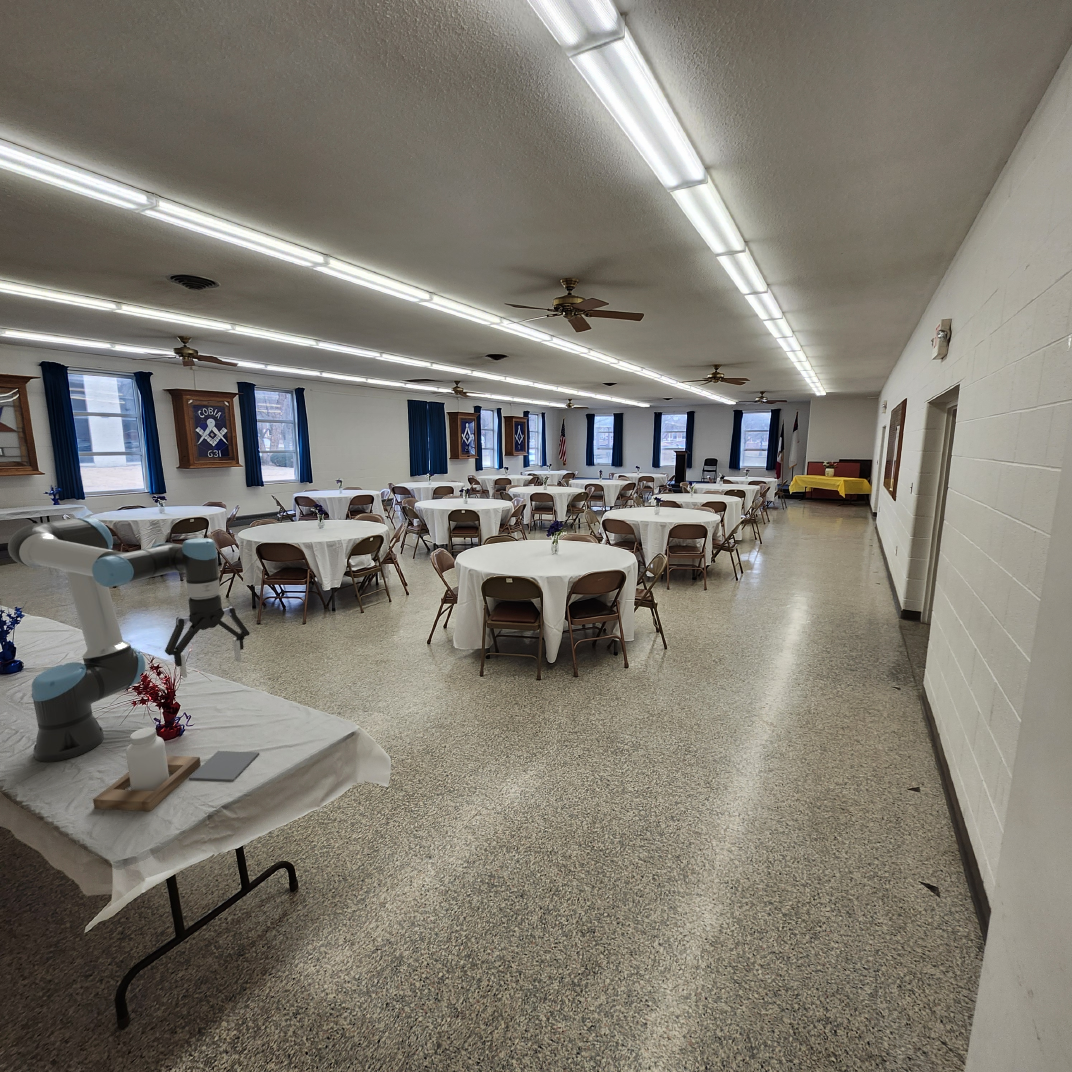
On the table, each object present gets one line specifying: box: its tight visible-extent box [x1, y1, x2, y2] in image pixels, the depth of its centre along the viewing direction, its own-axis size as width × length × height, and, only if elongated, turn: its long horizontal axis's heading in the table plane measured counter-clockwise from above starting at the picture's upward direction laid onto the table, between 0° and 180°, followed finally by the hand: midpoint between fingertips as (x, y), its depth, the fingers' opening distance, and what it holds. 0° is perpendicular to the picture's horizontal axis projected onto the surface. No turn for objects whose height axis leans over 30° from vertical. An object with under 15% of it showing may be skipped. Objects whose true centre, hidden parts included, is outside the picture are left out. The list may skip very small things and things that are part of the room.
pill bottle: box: [125, 726, 170, 791], centre depth 135 cm, size 8×8×15 cm
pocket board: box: [92, 755, 202, 812], centre depth 136 cm, size 14×18×2 cm
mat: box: [188, 750, 260, 782], centre depth 144 cm, size 12×12×1 cm
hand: (212, 668), depth 148 cm, fingers open, 13 cm apart
